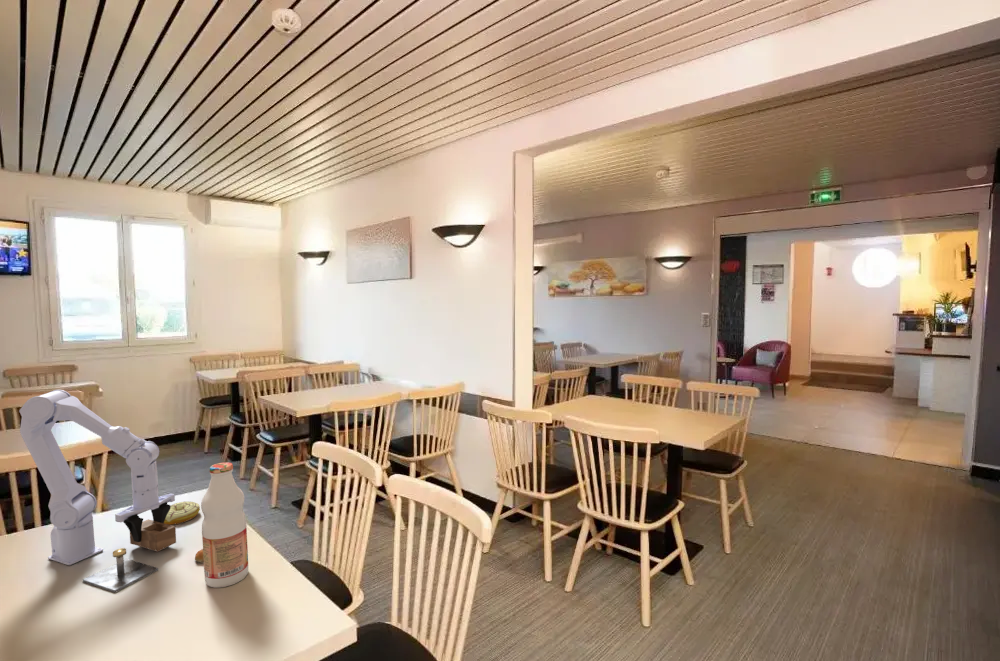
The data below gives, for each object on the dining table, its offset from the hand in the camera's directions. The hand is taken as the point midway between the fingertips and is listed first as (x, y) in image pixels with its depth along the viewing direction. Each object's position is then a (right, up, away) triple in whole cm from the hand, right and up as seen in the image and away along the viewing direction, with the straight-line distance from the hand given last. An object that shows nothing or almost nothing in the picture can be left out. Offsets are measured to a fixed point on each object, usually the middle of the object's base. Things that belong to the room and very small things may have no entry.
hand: (148, 536), depth 136 cm
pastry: (+22, -4, -4) cm, 22 cm away
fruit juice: (+30, -4, -15) cm, 33 cm away
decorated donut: (-3, -2, +17) cm, 18 cm away
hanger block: (+2, -2, -1) cm, 2 cm away
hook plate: (+3, -4, -14) cm, 15 cm away
